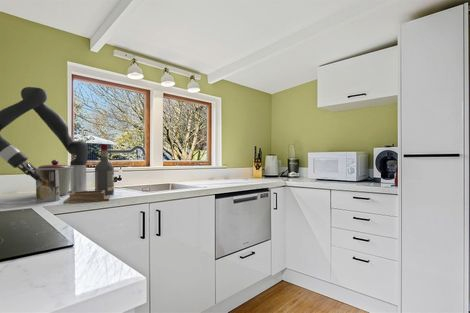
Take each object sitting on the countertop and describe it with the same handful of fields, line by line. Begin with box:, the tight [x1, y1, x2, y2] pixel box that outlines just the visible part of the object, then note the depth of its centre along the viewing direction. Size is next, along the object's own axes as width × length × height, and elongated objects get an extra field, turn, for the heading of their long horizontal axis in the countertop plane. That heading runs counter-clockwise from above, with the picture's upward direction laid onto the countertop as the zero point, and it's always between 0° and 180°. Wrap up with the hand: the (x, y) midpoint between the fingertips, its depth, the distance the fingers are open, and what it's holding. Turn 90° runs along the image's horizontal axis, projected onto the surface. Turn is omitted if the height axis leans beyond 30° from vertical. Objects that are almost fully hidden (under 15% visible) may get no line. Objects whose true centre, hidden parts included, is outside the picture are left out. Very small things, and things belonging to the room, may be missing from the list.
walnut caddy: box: [63, 190, 111, 204], centre depth 146 cm, size 16×20×4 cm
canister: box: [36, 159, 73, 197], centre depth 164 cm, size 18×18×21 cm
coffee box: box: [35, 170, 61, 203], centre depth 144 cm, size 9×6×16 cm
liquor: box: [94, 143, 115, 196], centre depth 165 cm, size 9×9×30 cm
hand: (41, 178), depth 143 cm, fingers open, 8 cm apart
